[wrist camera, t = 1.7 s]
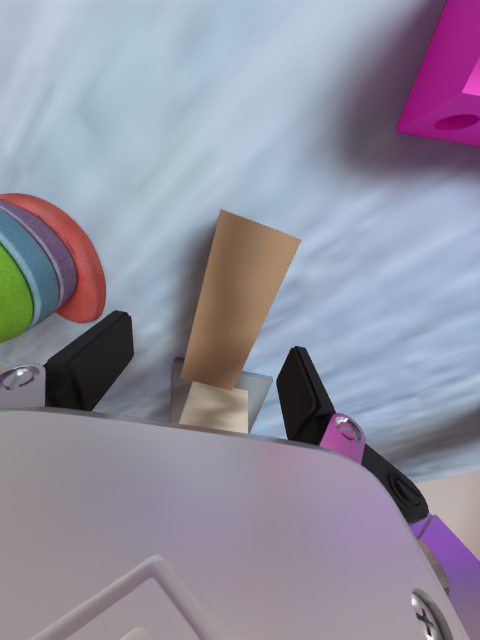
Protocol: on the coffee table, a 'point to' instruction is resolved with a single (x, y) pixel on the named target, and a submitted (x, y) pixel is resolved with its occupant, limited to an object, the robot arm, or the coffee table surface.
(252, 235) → the lintel
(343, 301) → the coffee table surface
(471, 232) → the coffee table surface
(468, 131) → the toy block
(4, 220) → the stacking bear
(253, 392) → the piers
